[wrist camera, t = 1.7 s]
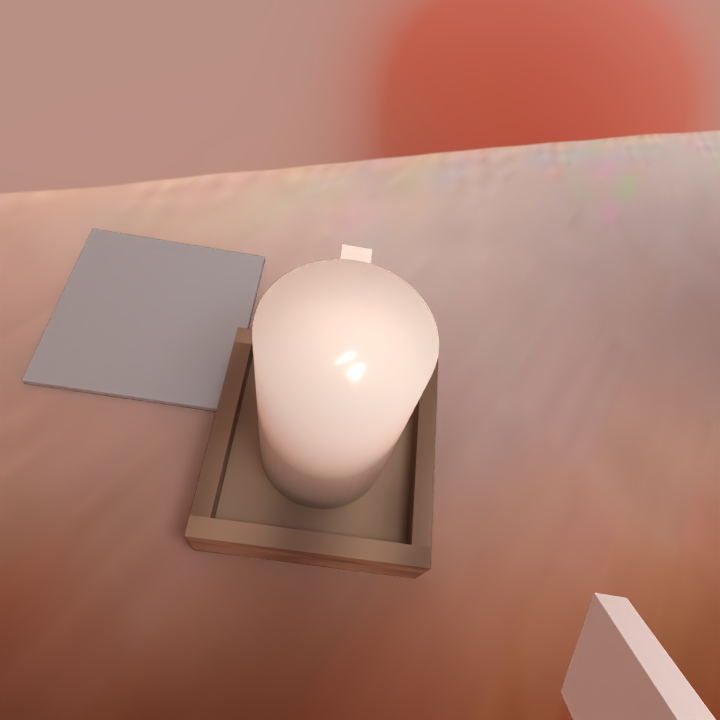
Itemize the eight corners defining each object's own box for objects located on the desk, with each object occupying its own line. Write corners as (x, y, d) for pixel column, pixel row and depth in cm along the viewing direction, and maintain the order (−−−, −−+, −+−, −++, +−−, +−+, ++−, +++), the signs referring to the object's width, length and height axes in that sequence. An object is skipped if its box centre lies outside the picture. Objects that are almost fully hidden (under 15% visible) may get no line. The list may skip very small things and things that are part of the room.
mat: (264, 260, 39) (264, 256, 39) (227, 413, 33) (226, 410, 33) (94, 232, 38) (92, 228, 38) (24, 383, 32) (21, 380, 32)
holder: (424, 384, 36) (438, 358, 33) (415, 578, 30) (430, 568, 27) (241, 356, 35) (237, 327, 32) (194, 549, 29) (184, 535, 26)
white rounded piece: (392, 364, 34) (443, 229, 24) (379, 517, 29) (436, 432, 19) (280, 346, 34) (282, 201, 23) (248, 499, 29) (233, 402, 18)
